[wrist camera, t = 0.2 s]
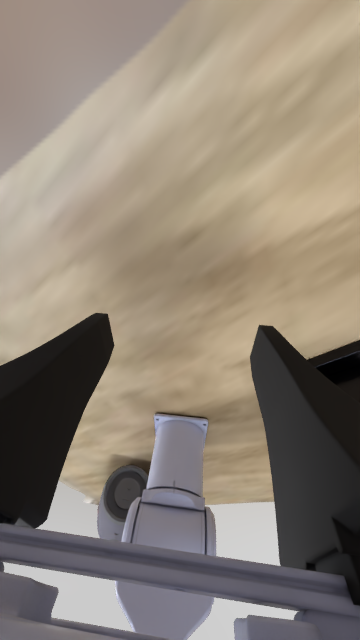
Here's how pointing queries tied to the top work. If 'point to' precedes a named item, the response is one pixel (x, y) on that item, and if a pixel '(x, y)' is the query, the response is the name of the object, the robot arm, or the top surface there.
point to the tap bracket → (342, 368)
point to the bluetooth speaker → (119, 500)
